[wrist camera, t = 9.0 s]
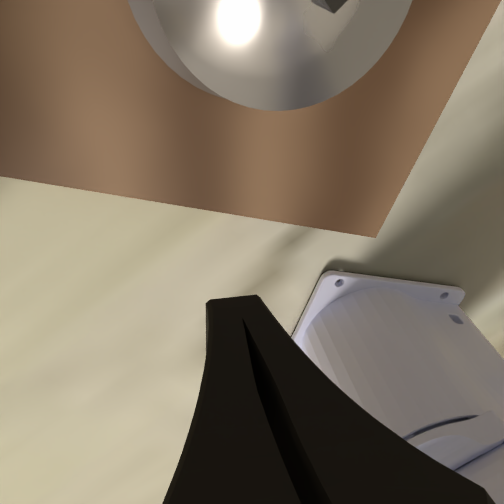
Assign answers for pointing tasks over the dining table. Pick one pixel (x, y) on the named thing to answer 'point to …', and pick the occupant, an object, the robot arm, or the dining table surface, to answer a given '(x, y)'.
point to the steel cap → (280, 45)
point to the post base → (218, 116)
